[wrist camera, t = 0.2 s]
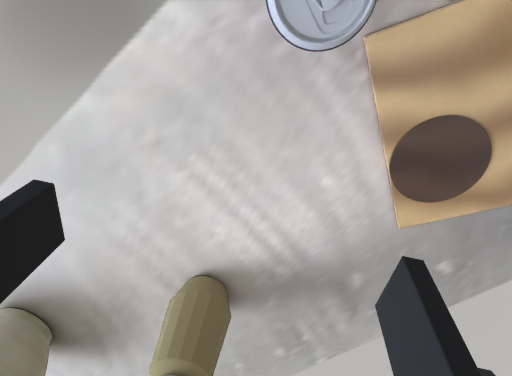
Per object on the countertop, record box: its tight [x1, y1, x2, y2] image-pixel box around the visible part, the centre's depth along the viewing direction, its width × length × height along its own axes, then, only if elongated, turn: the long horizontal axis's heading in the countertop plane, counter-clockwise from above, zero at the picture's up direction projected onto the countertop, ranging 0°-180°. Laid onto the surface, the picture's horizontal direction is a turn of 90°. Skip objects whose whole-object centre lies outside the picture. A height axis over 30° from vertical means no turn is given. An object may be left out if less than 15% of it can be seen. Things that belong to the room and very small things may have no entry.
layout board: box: [363, 0, 512, 229], centre depth 28 cm, size 20×12×1 cm, turn 20°
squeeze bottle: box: [149, 276, 231, 376], centre depth 34 cm, size 8×8×18 cm
